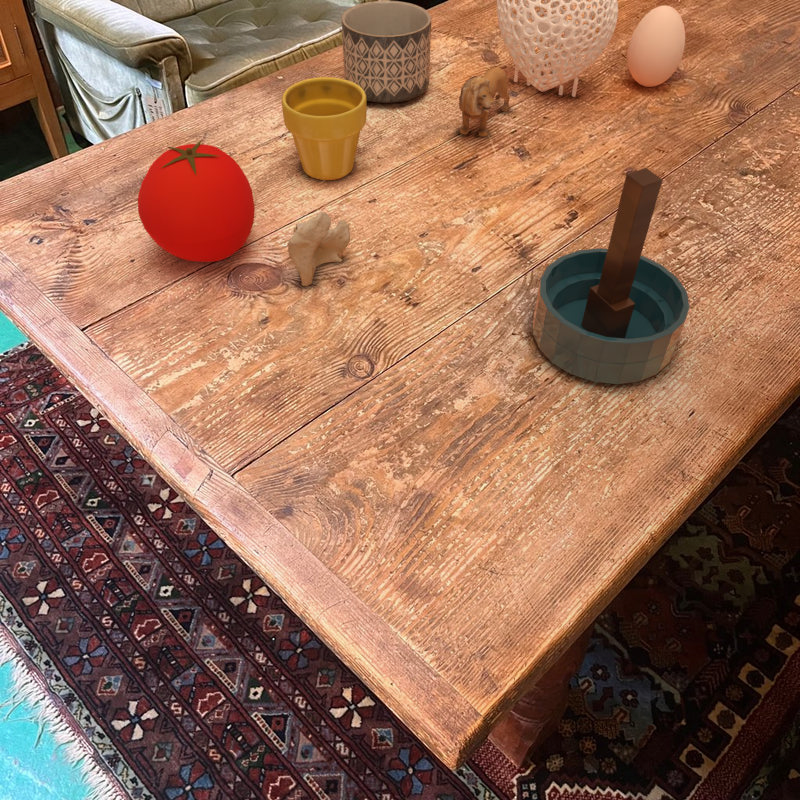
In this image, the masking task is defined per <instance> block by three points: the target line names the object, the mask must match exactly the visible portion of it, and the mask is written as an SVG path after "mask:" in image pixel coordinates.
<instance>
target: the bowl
mask: <svg viewBox="0 0 800 800" xmlns="http://www.w3.org/2000/svg"><path fill="white" fill-rule="evenodd" d="M607 250H608V248H601V247H597V248H588V249H580V250H576V251H572V252H570V253H567V254H564V255H561V256H559V257H558V258H556V260H554V261H553V262H552V263H550V264H549V265H547V267H546V268H545V270H544V272H543V273H542V275H541V277H540V279H539V283H538V284H539V285H538V291H537V296H536V301H535V306H534V313H533V319H532V337H533V338H534V340H535V342H536V343H535V344H536V345H537V348H538V349H539V351H541V353H542V354H543V355H544V356H545V357H546V358H547V359H548V360H549V361H550V362H551V363H552V364H553V365H554V366H557V367H558V368H559V369H561V370H563V371H565V372H566V373H568V374H569V375H572V376H575V377H578V378H582V379H585V380H588V381H591V382H594V383H602V384H612V385H622V384H628V383H638V382H642V381H644V380H646V379H649V378H650V377H653V376H655V375H658V374H659V373H660V372H661V371H662V370H663V369H664V368H665V367H666V366H667V365H668V364H669V363H670V362H671V360H672V358H673V354H674V352H675V349H676V347H677V344H678V342H679V339H680V336H681V333H682V331H683V328H684V325H685V322H686V319H687V316H688V314H689V311H690V307H691V306H690V300H689V295H688V291H687V290H686V287H684V285H683V284H682V282H681V280H679V278H678V277H677V276H676V275H675V274H673V272H671V271H669V270H668V269H667V268H666V267H665V266H663V265H662V264H660V263H659V262H656V261H655V260H652V259H651V258H648V257H646V256H644V255H642V254H641V256H640V260H639V263H638V267H637V270H636V274H635V277H634V281H633V284H632V287H631V291H630V294H629V298H630V299H631V300H632V301H633V302H634V303H635V306H634V309H633V313H632V316H631V319H630V323H629V326H628V329H627V333H626V336H625V339H624V338H613V337H605V336H602V335H599V334H595V333H592V332H589V331H587V330H586V329H585V328H583V327H582V326H581V324H582V320H583V316H584V312H585V308H586V303H587V299H588V295H589V291H590V288H591V287H593V286H596V285H599V282H600V278H601V274H602V270H603V266H604V262H605V258H606V254H607Z"/></svg>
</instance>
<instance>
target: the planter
mask: <svg viewBox="0 0 800 800" xmlns="http://www.w3.org/2000/svg"><path fill="white" fill-rule="evenodd" d="M341 37H342V59H343V79H345V80H348V81H351V82H354V83H356V84H357V85H359V86H360V87H361V88H362V89H363V90H364V92H365V94H366V102H372V103H374V102H375V103H379V104H381V103H382V104H389V103H391V104H392V103H400V102H407V101H411V100H413V99H415V98H418V97H419V96H421V95H422V94H424V93H425V92H426V91H427V89H428V88H429V85H430V71H431V70H430V69H431V43H432V42H431V40H432V15H431V14H430V13H429V11H428V10H426V9H425V8H424V7H422V6H419V5H417V4H414V3H410V2H407V1H406V2H405V1H399V0H373V1H367V2H363V3H358V4H356V5H353V6H351V7H350V8H349V7H348V9H346V10H345V11H344V12H343V14H342V15H341Z"/></svg>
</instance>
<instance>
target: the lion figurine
mask: <svg viewBox="0 0 800 800" xmlns="http://www.w3.org/2000/svg"><path fill="white" fill-rule="evenodd" d="M508 83H509V82H508V75H507V73H506V71H504V70H503V68H501V67H498V66H497V67H493V68H488V69H487V70H486V71H485V72H484V74H483V75H473V76H471V77H469V78H468V79H466V81H465V82H464V83H463V85H462V86H461V88H460V95H459V98H458V100H459V101H458V106H459V108H458V109H459V110H460V111H461V115H462V117H461V118H462V127H461V128H460V129H459V133H460V134H461V135H468V134H469V132H470V120H473V121H474V120H479V119H480V120H479V125H478V129H477V130H478V136H479V137H481V138H483V137H488V135H489V134H488V132H487V123H488V119H489V116H490V115H489V112H490V110H491V108H492V106H494V105H495V103H496V101H498V100H501V99H502V100H503V104H502V105H501V106H500V110H501V111H502V112H509V110H510V99H511V98H510V97H511V96H510V94H509V92H508V88H509V87H508V86H509V84H508ZM497 93H498V94H497ZM496 94H497V95H496Z"/></svg>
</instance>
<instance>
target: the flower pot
mask: <svg viewBox="0 0 800 800" xmlns="http://www.w3.org/2000/svg"><path fill="white" fill-rule="evenodd" d="M367 108H368V107H367V100H366V94H365V92H364V90H363V89H362V88H361V87H360V86H359V85H357V84H356V83H354V82H351V81H348V80H345V79H344V78H339V77H333V76H332V77H331V76H318V77H310V78H306V79H303V80H302V79H301V80H299V81H298V82H295V83H293V84H291V85H290V86H289V87H287V88H286V89H285V91H284V92H283V94H282V96H281V109H282V116H283V123H284V126H285V128H286V129H287V131H288V132H289V133H290V134H291V136H292V139H293V141H294V145H295V147H296V148H295V149H296V151H297V155H298V158H299V160H300V163H301V167H302V169H303V172H304V173H305V174H306V175H307V176H309V177H310V178H313V179H316V180H320V181H334V180H339V179H342V178H344V177H346V176H348V175H349V174H350V173H351V172H352V171H353V168H354V163H355V161H356V154H357V149H358V144H359V139H360V134H361V131H362V130H363V129H364V127H365V125H366V123H367V110H368V109H367Z"/></svg>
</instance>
